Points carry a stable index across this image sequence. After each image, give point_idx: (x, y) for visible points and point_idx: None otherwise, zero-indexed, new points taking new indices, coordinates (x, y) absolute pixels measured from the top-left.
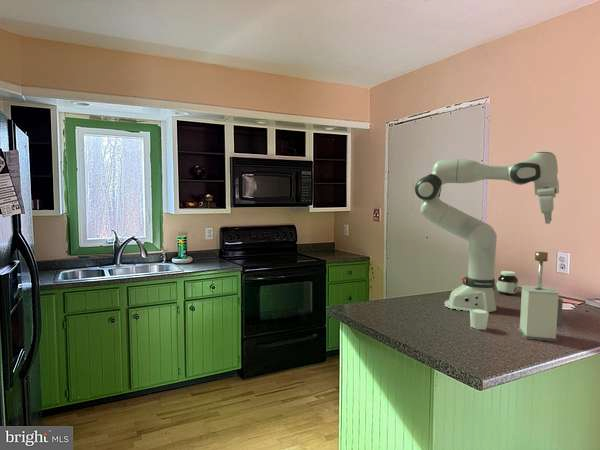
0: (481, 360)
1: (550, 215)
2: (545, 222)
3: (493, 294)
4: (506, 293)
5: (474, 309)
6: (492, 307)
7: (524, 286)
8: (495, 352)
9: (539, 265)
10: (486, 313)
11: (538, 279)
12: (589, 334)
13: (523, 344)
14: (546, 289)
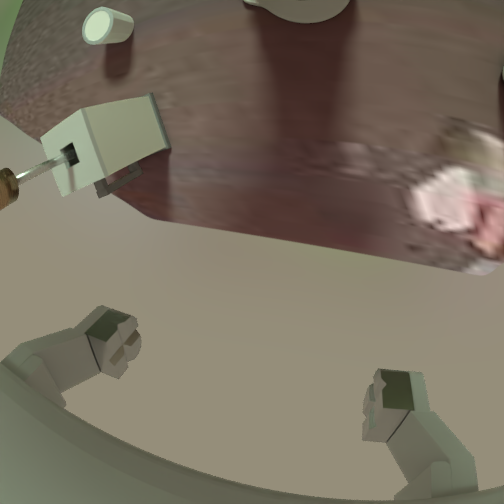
0: (18, 92)
1: (401, 458)
2: (94, 310)
3: (292, 2)
4: (502, 72)
5: (104, 12)
6: (279, 12)
7: (72, 117)
8: (42, 94)
9: (18, 175)
10: (89, 43)
11: (48, 160)
12: (207, 220)
13: None
14: (74, 171)
